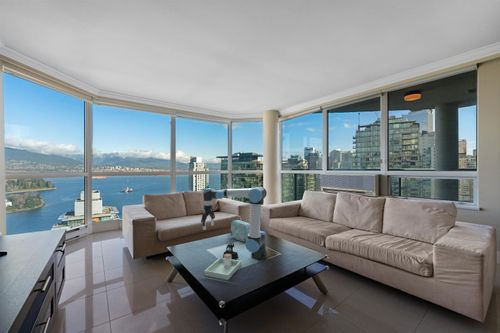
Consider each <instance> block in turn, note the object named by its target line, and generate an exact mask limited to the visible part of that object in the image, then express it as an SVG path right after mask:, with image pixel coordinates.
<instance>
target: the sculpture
mask: <svg viewBox="0 0 500 333" xmlns="http://www.w3.org/2000/svg"><path fill="white" fill-rule="evenodd" d="M233 248H235V243H234V242H232V244H226V250H225V251H224V252H223V254H222V258H224V255H225V254H231V255H232V256H231V259H233V260H237V259H238V258H239V253H238V252H237V251H234V250H233ZM229 249H230V250H229Z"/></svg>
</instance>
